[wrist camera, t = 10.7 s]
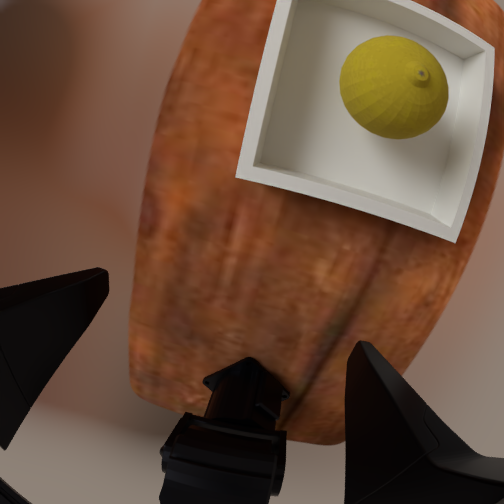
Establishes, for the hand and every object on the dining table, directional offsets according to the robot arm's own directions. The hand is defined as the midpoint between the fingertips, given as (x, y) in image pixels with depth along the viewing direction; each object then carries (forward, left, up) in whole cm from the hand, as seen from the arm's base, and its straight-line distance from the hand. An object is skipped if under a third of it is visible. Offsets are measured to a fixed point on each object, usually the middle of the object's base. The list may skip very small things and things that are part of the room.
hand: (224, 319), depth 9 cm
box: (+11, +2, -12) cm, 16 cm away
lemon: (+11, +2, -11) cm, 16 cm away
